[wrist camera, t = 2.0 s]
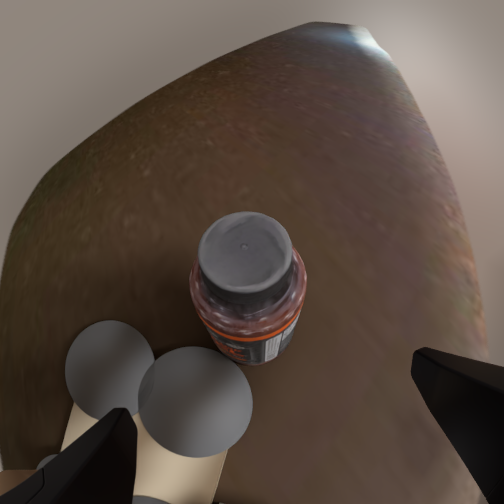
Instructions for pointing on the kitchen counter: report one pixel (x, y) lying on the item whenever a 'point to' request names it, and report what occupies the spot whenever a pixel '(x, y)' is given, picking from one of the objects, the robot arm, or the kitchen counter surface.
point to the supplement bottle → (248, 286)
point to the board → (156, 410)
